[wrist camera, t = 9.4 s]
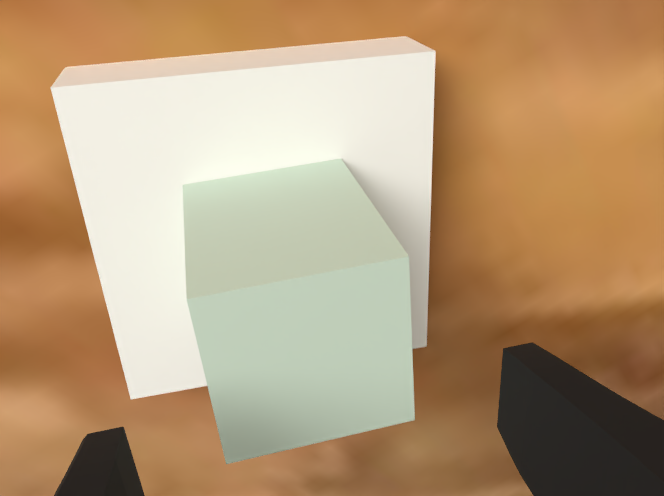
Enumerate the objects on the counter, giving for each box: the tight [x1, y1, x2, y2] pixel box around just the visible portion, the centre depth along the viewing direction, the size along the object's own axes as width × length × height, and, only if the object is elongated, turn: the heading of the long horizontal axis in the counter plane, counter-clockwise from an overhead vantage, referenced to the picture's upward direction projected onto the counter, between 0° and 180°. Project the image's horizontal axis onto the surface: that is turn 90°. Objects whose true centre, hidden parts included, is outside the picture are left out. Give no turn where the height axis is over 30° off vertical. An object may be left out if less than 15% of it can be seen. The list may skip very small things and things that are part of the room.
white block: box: [51, 36, 436, 399], centre depth 20 cm, size 10×10×3 cm
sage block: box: [183, 159, 415, 464], centre depth 16 cm, size 4×4×6 cm
